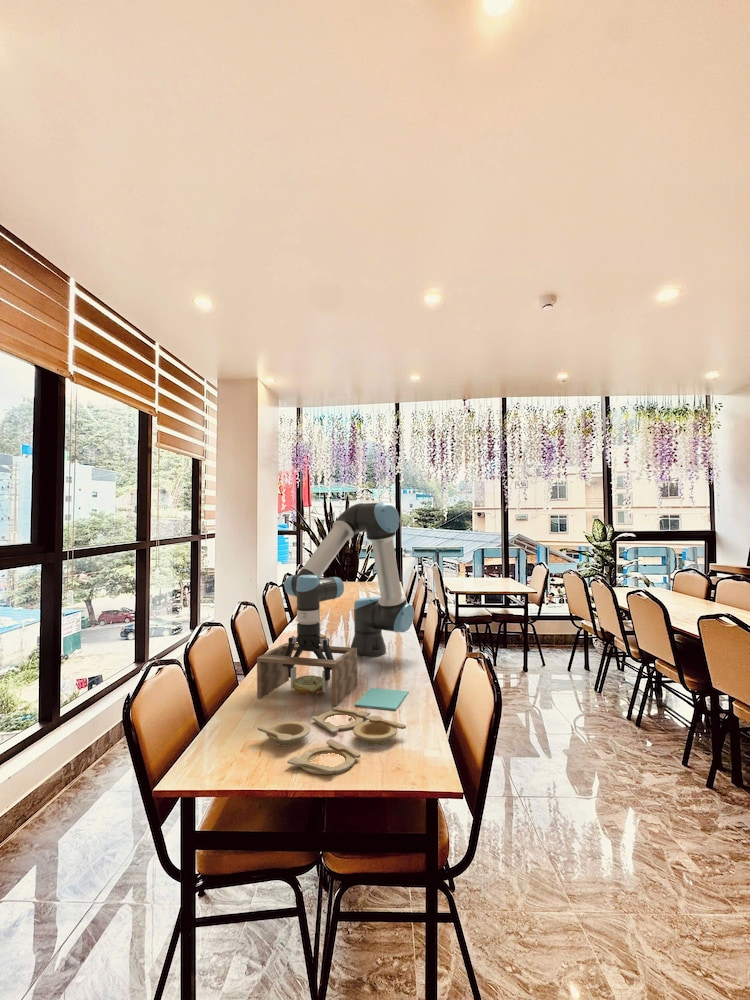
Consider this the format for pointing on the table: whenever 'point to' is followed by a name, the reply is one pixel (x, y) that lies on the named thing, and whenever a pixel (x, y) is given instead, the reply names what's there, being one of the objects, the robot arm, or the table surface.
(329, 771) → the tableware set
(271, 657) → the box
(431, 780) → the table surface
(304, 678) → the decorated donut
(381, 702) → the mat
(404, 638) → the table surface
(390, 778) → the table surface
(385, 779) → the table surface
